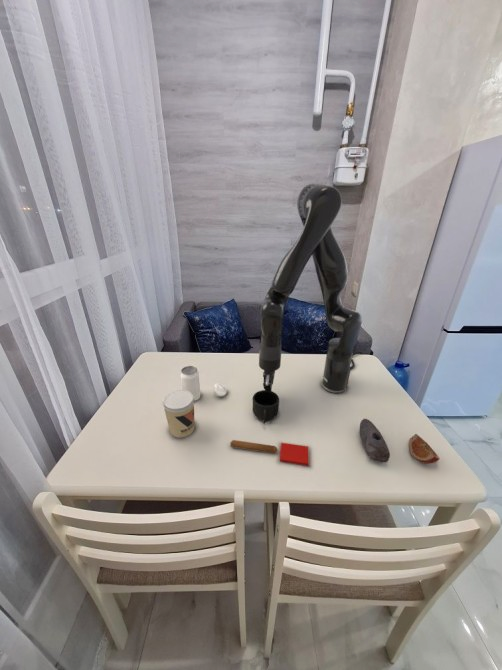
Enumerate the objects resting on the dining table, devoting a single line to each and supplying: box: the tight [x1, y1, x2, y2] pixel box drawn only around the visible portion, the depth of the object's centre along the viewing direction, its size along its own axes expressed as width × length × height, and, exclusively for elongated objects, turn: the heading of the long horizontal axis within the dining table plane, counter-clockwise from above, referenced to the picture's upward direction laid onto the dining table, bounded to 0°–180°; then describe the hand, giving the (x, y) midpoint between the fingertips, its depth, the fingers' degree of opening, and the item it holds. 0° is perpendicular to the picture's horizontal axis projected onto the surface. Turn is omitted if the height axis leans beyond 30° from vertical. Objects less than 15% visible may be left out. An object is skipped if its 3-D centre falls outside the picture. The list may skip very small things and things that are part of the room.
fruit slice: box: [408, 433, 440, 464], centre depth 75 cm, size 8×7×5 cm
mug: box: [252, 389, 280, 425], centre depth 89 cm, size 12×9×7 cm
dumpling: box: [213, 382, 227, 398], centre depth 101 cm, size 7×5×4 cm
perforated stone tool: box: [359, 418, 391, 464], centre depth 78 cm, size 15×5×7 cm, turn 176°
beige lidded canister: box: [162, 389, 195, 439], centre depth 83 cm, size 9×9×12 cm
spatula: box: [230, 439, 310, 467], centre depth 77 cm, size 23×6×2 cm, turn 80°
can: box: [180, 365, 201, 402], centre depth 97 cm, size 6×6×12 cm
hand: (268, 394), depth 97 cm, fingers closed
